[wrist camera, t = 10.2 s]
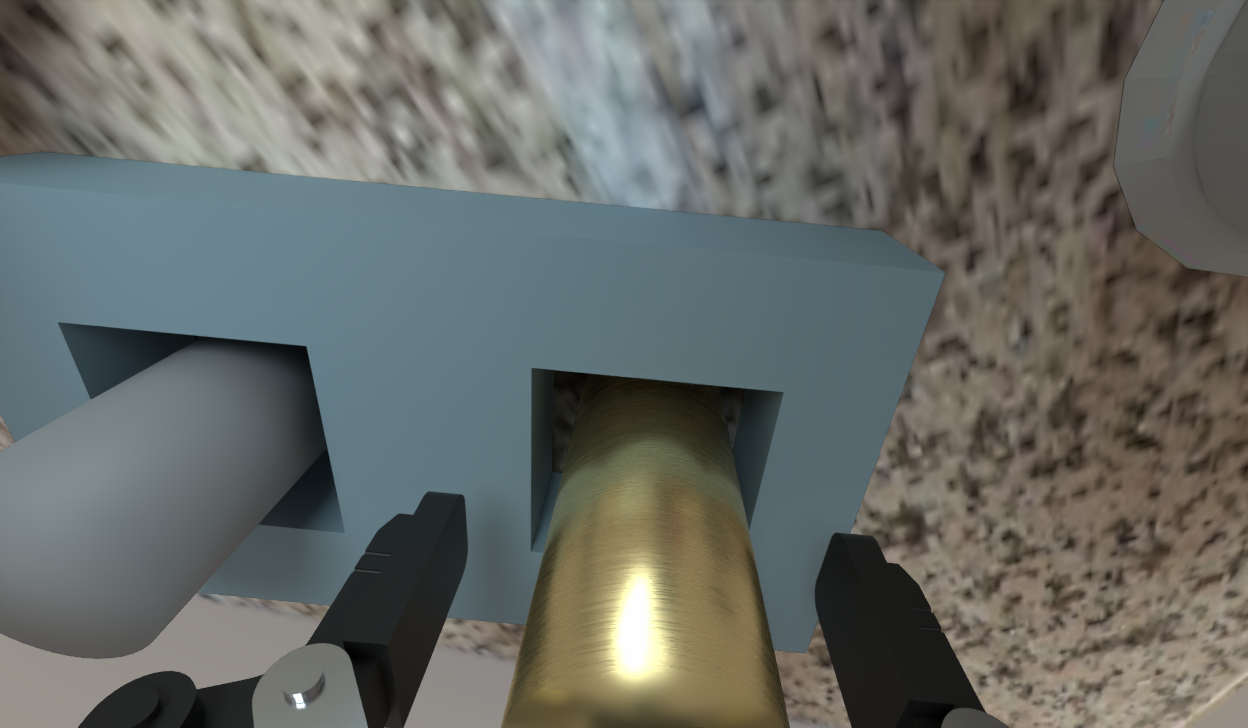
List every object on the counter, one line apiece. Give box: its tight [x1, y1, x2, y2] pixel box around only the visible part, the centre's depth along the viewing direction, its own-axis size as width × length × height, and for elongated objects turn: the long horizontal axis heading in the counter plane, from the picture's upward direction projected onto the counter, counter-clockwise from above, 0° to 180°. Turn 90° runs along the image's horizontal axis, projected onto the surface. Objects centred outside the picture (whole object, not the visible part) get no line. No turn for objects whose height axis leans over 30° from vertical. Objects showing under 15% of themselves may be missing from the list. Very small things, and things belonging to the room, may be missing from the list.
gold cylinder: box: [501, 374, 790, 728], centre depth 13 cm, size 4×4×10 cm
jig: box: [0, 152, 946, 659], centre depth 13 cm, size 12×22×8 cm, turn 85°
